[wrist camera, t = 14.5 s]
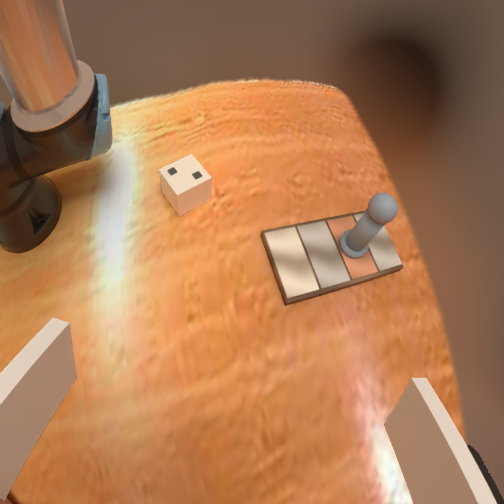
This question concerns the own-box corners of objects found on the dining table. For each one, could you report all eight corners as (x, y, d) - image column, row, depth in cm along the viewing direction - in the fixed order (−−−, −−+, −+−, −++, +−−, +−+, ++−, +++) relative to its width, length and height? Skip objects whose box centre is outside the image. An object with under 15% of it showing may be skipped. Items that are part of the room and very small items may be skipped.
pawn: (334, 235, 51) (367, 186, 39) (358, 230, 52) (394, 183, 40) (345, 261, 49) (384, 217, 37) (369, 255, 50) (410, 212, 39)
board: (260, 235, 51) (262, 229, 50) (371, 212, 57) (375, 207, 55) (285, 305, 47) (287, 302, 45) (399, 270, 52) (404, 266, 50)
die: (162, 192, 53) (158, 169, 47) (192, 177, 55) (191, 153, 49) (179, 217, 51) (177, 194, 45) (210, 200, 53) (211, 177, 48)
